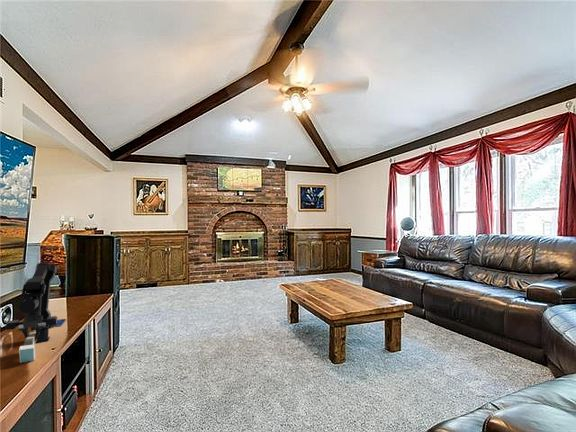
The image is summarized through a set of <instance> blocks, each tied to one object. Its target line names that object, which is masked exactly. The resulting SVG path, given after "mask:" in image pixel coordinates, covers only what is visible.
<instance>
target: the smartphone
mask: <svg viewBox="0 0 576 432" xmlns="http://www.w3.org/2000/svg"><path fill="white" fill-rule="evenodd" d="M66 321H67V318H61V319H57V323H56V324H55V325H53V328H61V327H62V326H64V324H65V323H66Z"/></svg>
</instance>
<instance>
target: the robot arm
mask: <svg viewBox="0 0 576 432" xmlns="http://www.w3.org/2000/svg"><path fill="white" fill-rule="evenodd" d="M57 271H58V267H57V265H55V264H52V263H50V262H39V263H37V265H36V267H35V271H34V273H33V276H32V277H31V278H28V279H27V280H26V282H25V283H24V284H23V286H22V290H21V294H20V295H21V296H20V298H21V299H22V298H23V299H24V300H23V301H22V302H21V303H20V304H19V311H20V312H21V313H23V314H25V315H24V317H23V321H20V319H13V320H9V321H8V322H6V324H5V327H4V330H5V331H10V330H15V329H16V328H17V327H18V328H17V330H18V331H21V332H22V333H23V335H24V338H25V339H26V338H27V337H28V335H29V334H30V332H33V331H34V332H36V335H35V341H36V342H35V344H36V343H44V342H49V341H50V338H51V336H49V332H50V329H53V328H54V327H53V325H55V324H56V323H57V320H58V316H56V315H55V316H52V313H51V312H50V310H49V302H50V301H49V300H50V292H51V283H52V281H53V279H54V278H55V277H56V274H57ZM29 328H30V332H29Z"/></svg>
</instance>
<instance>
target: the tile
mask: <svg viewBox="0 0 576 432" xmlns="http://www.w3.org/2000/svg"><path fill="white" fill-rule="evenodd" d="M35 344H36V343H35ZM35 344H33V345H26V346H24V345H20V346H19V349H18V352H19V363H20V364H21V363H22V362H23V363H28V361H30V362H34V361H33V360H35V359H36V346H35ZM23 363H22V364H23Z"/></svg>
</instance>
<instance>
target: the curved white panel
mask: <svg viewBox="0 0 576 432" xmlns="http://www.w3.org/2000/svg"><path fill="white" fill-rule="evenodd" d="M35 335H36V332H35V331H30V332H29V335H28V337H27V338H25V340H24V344H23V346H26V345H33V344H36V343H35V342H36V341H35Z"/></svg>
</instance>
